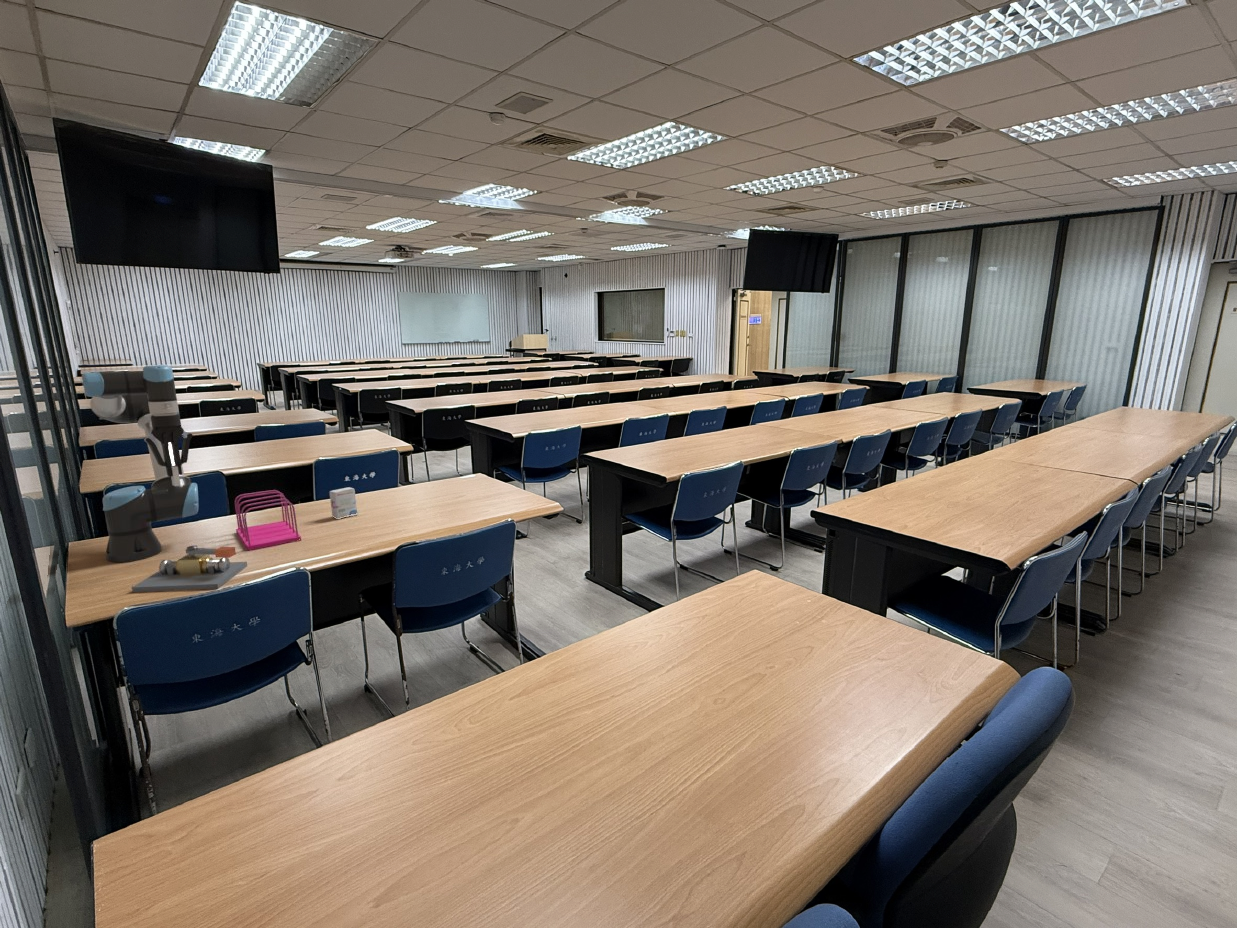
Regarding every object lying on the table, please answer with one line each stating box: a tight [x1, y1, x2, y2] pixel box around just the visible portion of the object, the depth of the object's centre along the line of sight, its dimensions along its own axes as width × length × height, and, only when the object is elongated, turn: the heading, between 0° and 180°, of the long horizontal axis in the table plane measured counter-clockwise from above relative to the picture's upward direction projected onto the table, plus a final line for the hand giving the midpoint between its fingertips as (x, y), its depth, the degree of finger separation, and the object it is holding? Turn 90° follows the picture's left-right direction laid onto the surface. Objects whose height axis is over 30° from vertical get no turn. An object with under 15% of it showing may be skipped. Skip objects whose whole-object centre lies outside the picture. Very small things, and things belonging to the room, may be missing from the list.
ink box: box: [328, 486, 358, 518], centre depth 251 cm, size 9×5×12 cm, turn 141°
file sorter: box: [234, 489, 302, 551], centre depth 226 cm, size 17×25×16 cm
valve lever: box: [185, 545, 237, 559], centre depth 189 cm, size 15×3×3 cm, turn 85°
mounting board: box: [131, 561, 248, 593], centre depth 189 cm, size 24×18×2 cm
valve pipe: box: [158, 554, 231, 576], centre depth 191 cm, size 18×6×6 cm, turn 96°
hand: (176, 485), depth 198 cm, fingers closed
